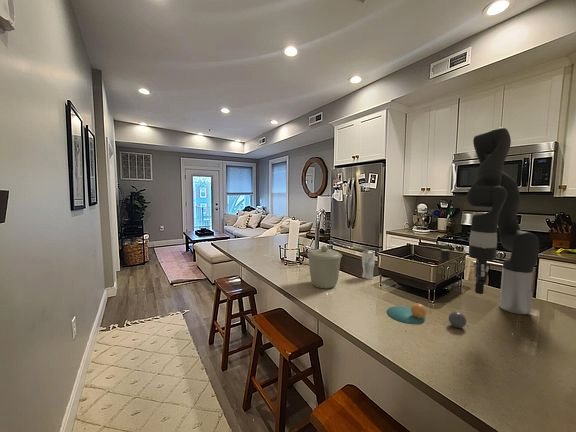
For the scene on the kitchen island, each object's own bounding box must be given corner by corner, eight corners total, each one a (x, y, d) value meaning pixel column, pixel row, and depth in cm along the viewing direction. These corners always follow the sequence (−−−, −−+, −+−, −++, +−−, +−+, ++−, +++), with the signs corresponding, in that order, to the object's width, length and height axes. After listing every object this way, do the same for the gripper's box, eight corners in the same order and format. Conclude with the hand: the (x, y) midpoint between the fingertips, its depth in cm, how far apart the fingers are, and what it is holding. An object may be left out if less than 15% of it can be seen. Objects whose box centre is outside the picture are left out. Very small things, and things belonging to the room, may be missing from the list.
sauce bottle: (453, 291, 126) (455, 251, 124) (439, 290, 127) (441, 251, 125) (447, 286, 132) (450, 248, 130) (434, 285, 134) (436, 248, 132)
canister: (346, 282, 138) (347, 244, 136) (333, 294, 123) (334, 251, 120) (316, 276, 147) (316, 241, 145) (300, 287, 132) (300, 247, 130)
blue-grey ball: (451, 306, 96) (445, 318, 97) (453, 312, 91) (446, 325, 93) (468, 314, 94) (461, 326, 95) (470, 321, 89) (463, 333, 90)
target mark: (426, 311, 105) (426, 311, 105) (423, 327, 93) (423, 327, 93) (390, 303, 112) (390, 303, 112) (383, 317, 100) (383, 317, 100)
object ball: (416, 298, 103) (409, 308, 105) (414, 303, 98) (407, 314, 100) (430, 307, 100) (422, 317, 102) (428, 313, 96) (420, 323, 98)
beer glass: (374, 276, 148) (375, 251, 146) (374, 280, 141) (375, 253, 140) (361, 275, 150) (362, 250, 149) (361, 279, 144) (361, 252, 142)
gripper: (467, 240, 95) (464, 285, 97) (470, 246, 84) (467, 297, 86) (493, 242, 91) (489, 288, 93) (500, 249, 80) (495, 302, 82)
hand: (478, 293), depth 89 cm, fingers closed
